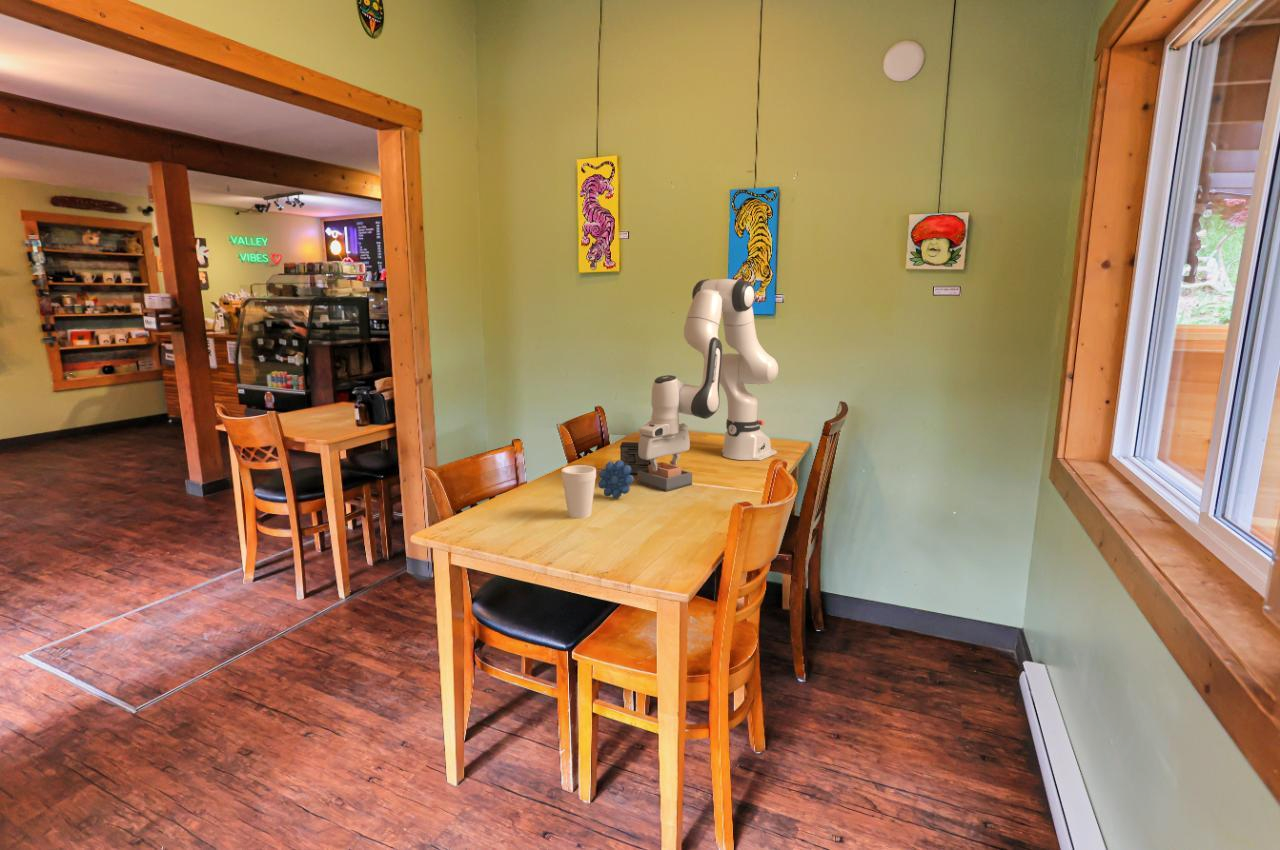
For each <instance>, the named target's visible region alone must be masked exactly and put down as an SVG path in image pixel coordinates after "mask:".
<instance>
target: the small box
mask: <svg viewBox="0 0 1280 850" xmlns="http://www.w3.org/2000/svg"><path fill="white" fill-rule="evenodd" d="M638 444H639V441H638V442H637V441H636V442H634V441H633V442H631V441H622V442H621V443H620V446H619V447H620V455H619V456H620V459H619V460H621V461H623V463H624V466H626V465H628V466H630V467H631V473H630V474H629V475H632V476H637V471H639V470H643V469H647V468H649V465H651V462H650V460H644V459H641V458H640V457H639V454H638Z"/></svg>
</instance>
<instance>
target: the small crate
mask: <svg viewBox="0 0 1280 850" xmlns="http://www.w3.org/2000/svg"><path fill="white" fill-rule="evenodd" d="M656 463H657V465H659V471H653V470H652V464H651V465H649V473H650V474H653V475H657V476H660V477H664V478H670V477H674V476H678V475H681V470H682V466H678V465H677V466H675V465H671V464H670V463H667V462H663V461H661V462H656Z"/></svg>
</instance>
